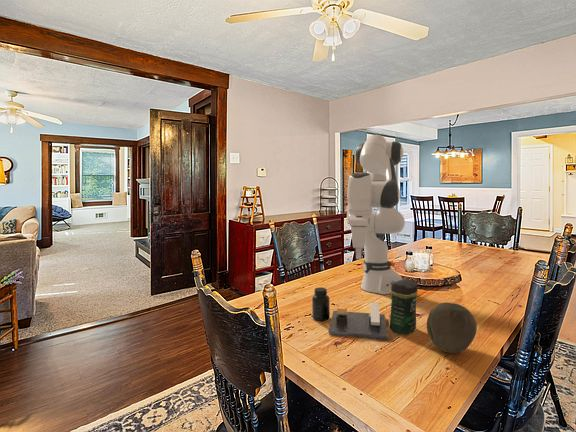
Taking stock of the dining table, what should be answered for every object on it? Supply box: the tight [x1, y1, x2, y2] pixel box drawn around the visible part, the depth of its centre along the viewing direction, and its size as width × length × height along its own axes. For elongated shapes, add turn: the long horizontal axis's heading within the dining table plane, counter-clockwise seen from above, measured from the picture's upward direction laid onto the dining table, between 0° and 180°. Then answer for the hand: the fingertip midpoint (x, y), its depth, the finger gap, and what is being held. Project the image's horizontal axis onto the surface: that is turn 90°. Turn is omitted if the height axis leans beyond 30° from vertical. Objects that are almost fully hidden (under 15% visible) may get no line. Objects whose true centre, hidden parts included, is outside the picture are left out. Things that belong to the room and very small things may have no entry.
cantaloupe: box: [426, 301, 478, 354], centre depth 104 cm, size 14×14×15 cm
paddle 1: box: [336, 306, 348, 315], centre depth 123 cm, size 10×4×2 cm, turn 167°
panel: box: [328, 310, 389, 341], centre depth 122 cm, size 18×20×3 cm
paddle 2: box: [369, 302, 381, 326], centre depth 120 cm, size 10×4×2 cm, turn 167°
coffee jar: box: [389, 277, 418, 336], centre depth 118 cm, size 10×8×19 cm
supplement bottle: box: [311, 287, 331, 323], centre depth 129 cm, size 7×7×12 cm
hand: (358, 255), depth 119 cm, fingers open, 8 cm apart
